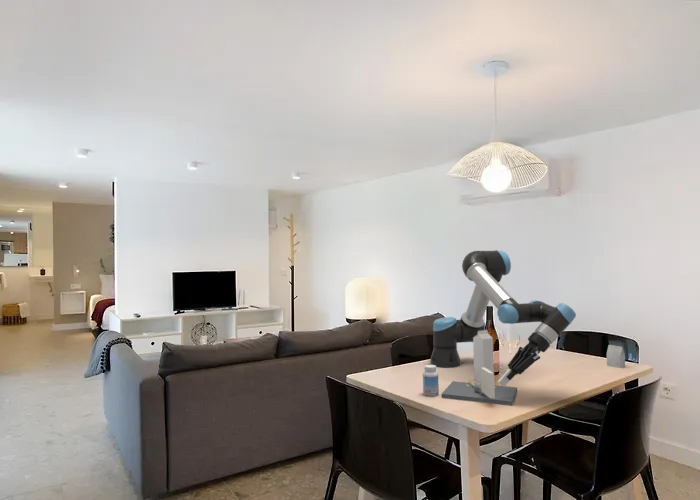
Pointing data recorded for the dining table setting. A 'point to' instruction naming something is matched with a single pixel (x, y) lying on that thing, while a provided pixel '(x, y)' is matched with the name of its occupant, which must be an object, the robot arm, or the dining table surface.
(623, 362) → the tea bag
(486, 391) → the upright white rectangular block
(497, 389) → the dark grey flat slab
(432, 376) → the pill bottle
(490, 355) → the milk
